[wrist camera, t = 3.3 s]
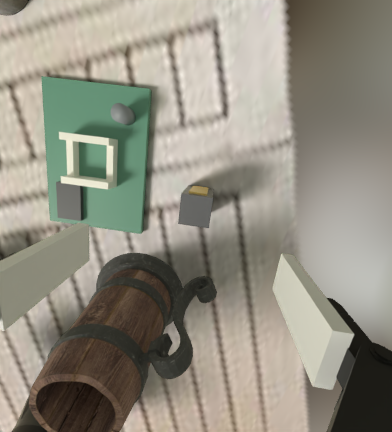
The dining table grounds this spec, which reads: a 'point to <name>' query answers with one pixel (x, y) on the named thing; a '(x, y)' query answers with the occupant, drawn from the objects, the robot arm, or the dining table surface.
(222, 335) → the dining table surface
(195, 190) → the plug
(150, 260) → the tankard
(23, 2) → the pillar candle
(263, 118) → the dining table surface
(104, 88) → the board
